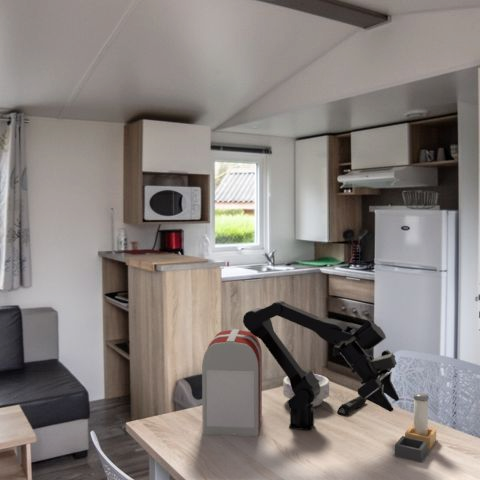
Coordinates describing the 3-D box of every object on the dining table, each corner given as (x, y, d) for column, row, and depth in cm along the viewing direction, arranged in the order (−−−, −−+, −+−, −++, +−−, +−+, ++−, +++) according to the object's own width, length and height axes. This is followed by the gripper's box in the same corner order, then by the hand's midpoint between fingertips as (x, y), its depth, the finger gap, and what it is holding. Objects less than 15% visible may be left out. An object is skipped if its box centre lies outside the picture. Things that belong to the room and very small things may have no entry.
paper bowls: (285, 411, 178) (285, 386, 178) (281, 395, 194) (281, 372, 193) (332, 410, 179) (333, 386, 178) (325, 395, 194) (325, 372, 193)
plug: (415, 445, 150) (416, 397, 149) (411, 439, 154) (412, 392, 153) (429, 445, 150) (430, 397, 149) (425, 439, 154) (426, 392, 153)
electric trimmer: (369, 404, 186) (369, 395, 186) (346, 417, 174) (346, 407, 174) (359, 402, 188) (359, 392, 188) (336, 414, 176) (336, 404, 176)
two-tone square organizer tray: (422, 467, 139) (422, 451, 139) (392, 459, 144) (392, 444, 143) (438, 444, 153) (438, 430, 153) (410, 438, 157) (410, 424, 157)
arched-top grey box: (262, 413, 176) (262, 329, 175) (259, 436, 159) (258, 342, 157) (210, 412, 178) (210, 328, 176) (201, 434, 160) (200, 341, 159)
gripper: (372, 350, 147) (413, 399, 143) (386, 336, 164) (422, 379, 160) (341, 374, 151) (380, 423, 147) (357, 357, 168) (392, 401, 164)
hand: (395, 405), depth 154 cm, fingers open, 9 cm apart
